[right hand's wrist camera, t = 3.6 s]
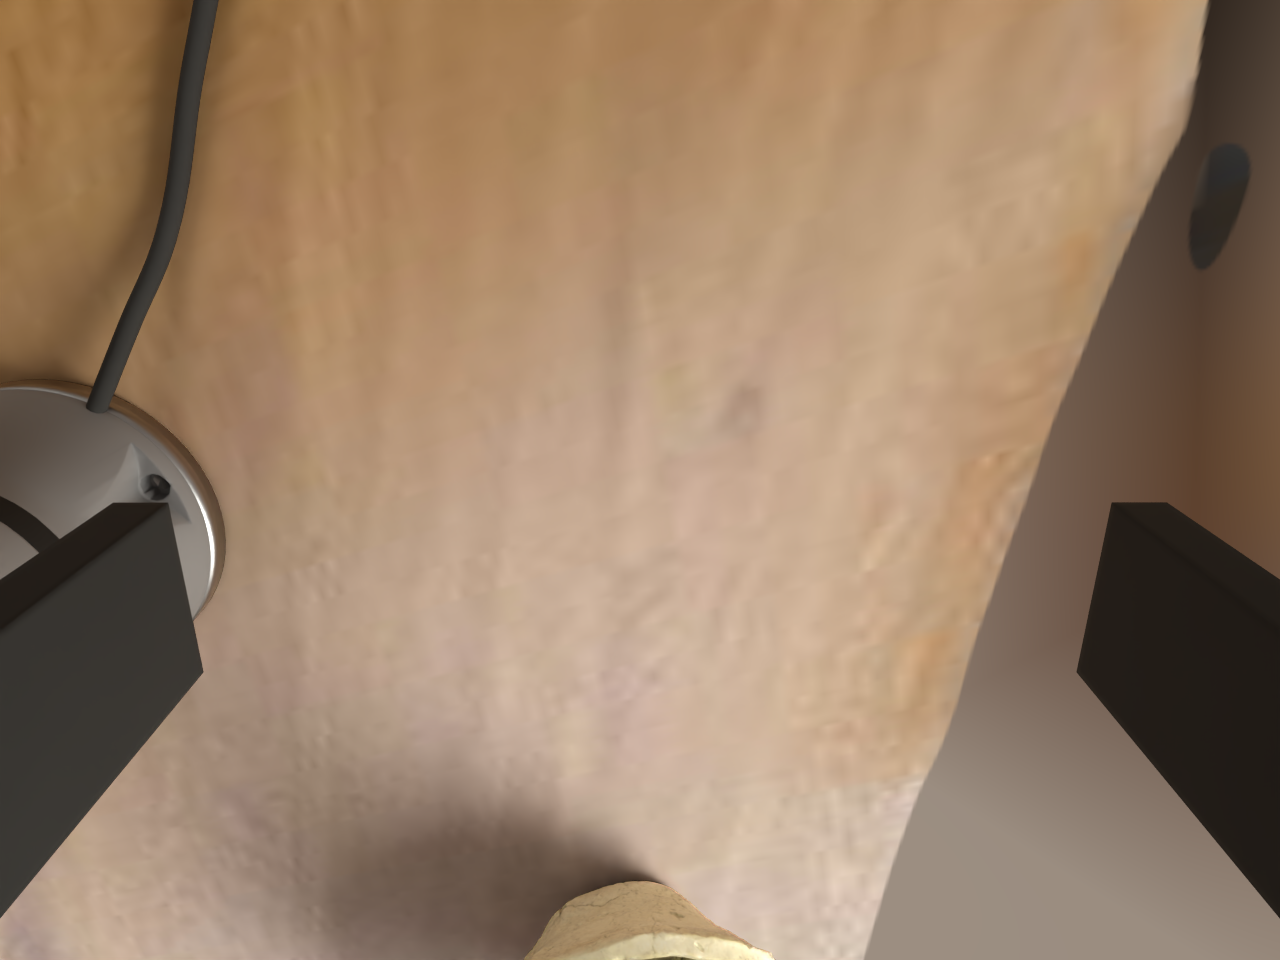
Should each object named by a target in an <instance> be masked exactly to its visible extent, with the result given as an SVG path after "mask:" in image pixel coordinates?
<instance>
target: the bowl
mask: <svg viewBox="0 0 1280 960" xmlns="http://www.w3.org/2000/svg"><path fill="white" fill-rule="evenodd" d="M524 960H775V959H774V958H773V956H772V954H771V953H770V952H768V951H765V950H763V949H758V948H756V947H754V946H752V945H751V944H749V943H748V942H747V941H745V940H743V939H741V938H739V937H738V936H736V935H735V934H733V933H731V932H730V931H728V930H726V929H723V928H721V927H719V926H716V925H715V924H714V923H713V922H712V921H710V920H709V919H707V918H706V917H705V916H704V915H703V914H702V913H701V912H700V911H699V910H698V909H697V908H696V907H695V906H694V905H693V904H692V903H691V902H689V901H688V900H687V899H685V898H684V897H683V896H682V895H680V894H679V893H678V892H676V891H675V890H673V889H672V888H670V887H667V886H664V885H662V884H658V883H655V882H649V881H640V882H637V881H630V882H625V883H617V884H614V885H608V886H605V887H602V888H600V889H597V890H594V891H591V892H589V893H586V894H583V895H580V896H578V897H575V898H574V899H572V900H571V901H569V902H567V903H566V904H565V905H564V906H563V907H562V909H561V910H558V911H557V912H556V913H555V914H554V916H552V918H551V919H550V921H549V922H548V924H547V926H546V928H545V929H544V931H543V934H542V936H541V938H540V939H539V940H538V941H537V943H536V945H535V946H534V947H533V949H532V950H531V951H530V952H529V953H528V954H527V955H526V957H525V958H524Z"/></svg>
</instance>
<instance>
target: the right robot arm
mask: <svg viewBox="0 0 1280 960" xmlns="http://www.w3.org/2000/svg"><path fill="white" fill-rule="evenodd" d="M217 6H218V0H194V1H193V7H192V12H191V18H190V23H189V29H188V34H187V40H186V45H185V50H184V56H183V61H182V67H181V73H180V79H179V85H178V92H177V100H176V108H175V116H174V125H173V134H172V143H171V152H170V160H169V168H168V175H167V181H166V187H165V193H164V198H163V203H162V207H161V212H160V216H159V220H158V224H157V228H156V232H155V235H154V238H153V242H152V245H151V248H150V250H149V253H148V256H147V259H146V261H145V264H144V266H143V268H142V271H141V273H140V275H139V277H138V280H137V282H136V284H135V286H134V288H133V290H132V293H131V295H130V297H129V299H128V301H127V304H126V306H125V308H124V310H123V313H122V315H121V318H120V320H119V322H118V325H117V327H116V330H115V332H114V335H113V337H112V340H111V342H110V345H109V348H108V350H107V353H106V355H105V358H104V360H103V363H102V365H101V368H100V370H99V373H98V375H97V378H96V381H95V383H94V386H93V388H92V387H89V386H85V385H81V384H77V383H72V382H65V381H59V380H46V379H33V380H20V381H12V382H7V383H3V384H0V918H1V917H2V916H3V914H4V913H5V912H6V911H7V909H8V908H9V907H10V906H11V905H12V903H13V902H14V901H15V900H16V899H17V897H18V896H19V895H20V894H21V893H22V891H23V890H24V889H25V888H26V886H27V885H28V884H29V883H30V882H31V880H32V879H33V878H34V877H35V876H36V874H37V873H38V872H39V871H40V869H41V868H42V867H43V866H44V865H45V863H46V862H47V861H48V860H49V859H50V857H51V856H52V855H53V854H54V853H55V851H56V850H57V849H58V848H59V846H60V845H61V844H62V843H63V842H64V840H65V839H66V838H67V837H68V836H69V834H70V833H71V832H72V831H73V830H74V828H75V827H76V826H77V825H78V823H79V822H80V821H81V820H82V819H83V817H84V816H85V815H86V814H87V813H88V811H89V810H90V809H91V808H92V807H93V805H94V804H95V803H96V802H97V800H98V799H99V798H100V797H101V796H102V794H103V793H104V792H105V791H106V790H107V788H108V787H109V786H110V785H111V783H112V782H113V781H114V780H115V779H116V777H117V776H118V775H119V774H120V773H121V771H122V770H123V769H124V768H125V767H126V765H127V764H128V763H129V762H130V760H131V759H132V758H133V757H134V756H135V754H136V753H137V752H138V751H139V750H140V748H141V747H142V746H143V745H144V744H145V742H146V741H147V740H148V739H149V737H150V736H151V735H152V734H153V733H154V731H155V730H156V729H157V728H158V727H159V725H160V724H161V723H162V722H163V720H164V719H165V718H166V717H167V716H168V714H169V713H170V712H171V711H172V710H173V708H174V707H175V706H176V705H177V704H178V702H179V701H180V700H181V699H182V697H183V696H184V695H185V694H186V693H187V691H188V690H189V689H190V688H191V687H192V685H193V684H194V683H195V682H196V681H197V679H198V678H199V677H200V676H201V674H202V673H203V668H202V663H201V658H200V653H199V648H198V644H197V639H196V634H195V629H194V624H193V620H194V619H195V618H196V617H197V616H198V615H199V614H200V613H201V611H202V610H203V609H204V608H205V607H206V605H207V604H208V602H209V601H210V599H211V598H212V596H213V594H214V592H215V590H216V588H217V586H218V583H219V580H220V578H221V574H222V570H223V566H224V560H225V547H226V539H225V529H224V523H223V518H222V513H221V510H220V507H219V504H218V500H217V498H216V496H215V493H214V491H213V489H212V486H211V484H210V483H209V481H208V479H207V477H206V475H205V473H204V472H203V470H202V469H201V467H200V466H199V464H198V463H197V461H196V460H195V459H194V457H193V456H192V455H191V454H190V452H189V451H188V450H187V449H186V448H185V446H184V445H183V444H182V443H181V442H180V441H179V440H178V439H177V438H176V437H175V436H174V435H173V434H172V433H171V432H170V431H168V430H167V429H166V428H165V427H164V426H163V425H161V424H160V423H159V422H158V421H156V420H155V419H154V418H152V417H151V416H150V415H148V414H146V413H145V412H143V411H142V410H140V409H139V408H137V407H135V406H134V405H132V404H130V403H128V402H126V401H124V400H122V399H120V398H118V397H116V396H113V395H114V392H115V390H116V387H117V385H118V382H119V380H120V377H121V375H122V372H123V370H124V367H125V365H126V362H127V360H128V357H129V355H130V352H131V350H132V347H133V345H134V342H135V340H136V337H137V335H138V332H139V330H140V328H141V325H142V323H143V320H144V318H145V316H146V314H147V311H148V309H149V307H150V305H151V303H152V301H153V298H154V296H155V294H156V292H157V290H158V288H159V285H160V283H161V281H162V279H163V276H164V274H165V272H166V269H167V267H168V264H169V261H170V259H171V256H172V253H173V250H174V247H175V243H176V240H177V237H178V233H179V229H180V225H181V221H182V217H183V213H184V208H185V203H186V198H187V193H188V187H189V181H190V174H191V167H192V160H193V152H194V143H195V135H196V127H197V119H198V111H199V104H200V97H201V91H202V85H203V79H204V74H205V68H206V63H207V58H208V53H209V48H210V43H211V37H212V32H213V27H214V22H215V16H216V11H217ZM1077 673H1078V674H1079V676H1080V677H1081V678H1082V679H1083V681H1084V682H1085V683H1086V684H1087V685H1088V687H1089V688H1090V689H1091V690H1092V691H1093V693H1094V694H1095V695H1096V696H1097V697H1098V699H1099V700H1100V701H1101V702H1102V704H1103V705H1104V706H1105V707H1106V708H1107V710H1108V711H1109V712H1110V713H1111V714H1112V716H1113V717H1114V718H1115V719H1116V720H1117V722H1118V723H1119V724H1120V725H1121V727H1122V728H1123V729H1124V730H1125V731H1126V733H1127V734H1128V735H1129V736H1130V737H1131V739H1132V740H1133V741H1134V742H1135V744H1136V745H1137V746H1138V747H1139V748H1140V750H1141V751H1142V752H1143V753H1144V754H1145V756H1146V757H1147V758H1148V759H1149V760H1150V762H1151V763H1152V764H1153V765H1154V767H1155V768H1156V769H1157V770H1158V771H1159V772H1160V774H1161V775H1162V776H1163V777H1164V779H1165V780H1166V781H1167V782H1168V783H1169V785H1170V786H1171V787H1172V788H1173V790H1174V791H1175V792H1176V793H1177V794H1178V796H1179V797H1180V798H1181V799H1182V800H1183V802H1184V803H1185V804H1186V805H1187V807H1188V808H1189V809H1190V810H1191V811H1192V813H1193V814H1194V815H1195V816H1196V817H1197V819H1198V820H1199V821H1200V822H1201V823H1202V825H1203V826H1204V827H1205V828H1206V830H1207V831H1208V832H1209V833H1210V834H1211V836H1212V837H1213V838H1214V839H1215V840H1216V842H1217V843H1218V844H1219V845H1220V846H1221V848H1222V849H1223V850H1224V851H1225V853H1226V854H1227V855H1228V856H1229V857H1230V859H1231V860H1232V861H1233V862H1234V863H1235V865H1236V866H1237V867H1238V868H1239V869H1240V871H1241V872H1242V873H1243V874H1244V876H1245V877H1246V878H1247V879H1248V880H1249V882H1250V883H1251V884H1252V885H1253V886H1254V888H1255V889H1256V890H1257V891H1258V892H1259V894H1260V895H1261V896H1262V897H1263V899H1264V900H1265V901H1266V902H1267V903H1268V905H1269V906H1270V907H1271V908H1272V909H1273V911H1274V912H1275V913H1276V914H1277V915H1278V917H1279V918H1280V579H1278V578H1277V577H1275V576H1274V575H1272V574H1271V573H1269V572H1268V571H1267V570H1265V569H1264V568H1262V567H1261V566H1259V565H1258V564H1256V563H1255V562H1253V561H1252V560H1250V559H1249V558H1247V557H1246V556H1244V555H1243V554H1242V553H1240V552H1239V551H1237V550H1236V549H1234V548H1233V547H1231V546H1230V545H1228V544H1227V543H1225V542H1224V541H1223V540H1221V539H1220V538H1218V537H1217V536H1215V535H1214V534H1212V533H1211V532H1209V531H1208V530H1206V529H1205V528H1203V527H1202V526H1201V525H1199V524H1198V523H1196V522H1195V521H1193V520H1192V519H1190V518H1189V517H1187V516H1186V515H1184V514H1183V513H1181V512H1180V511H1179V510H1177V509H1175V508H1174V507H1173V506H1171V505H1170V504H1168V503H1112V504H1111V509H1110V513H1109V518H1108V523H1107V528H1106V533H1105V538H1104V542H1103V547H1102V552H1101V557H1100V562H1099V566H1098V571H1097V576H1096V581H1095V586H1094V591H1093V595H1092V600H1091V605H1090V610H1089V615H1088V620H1087V624H1086V629H1085V634H1084V639H1083V644H1082V649H1081V653H1080V658H1079V663H1078V668H1077Z"/></svg>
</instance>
